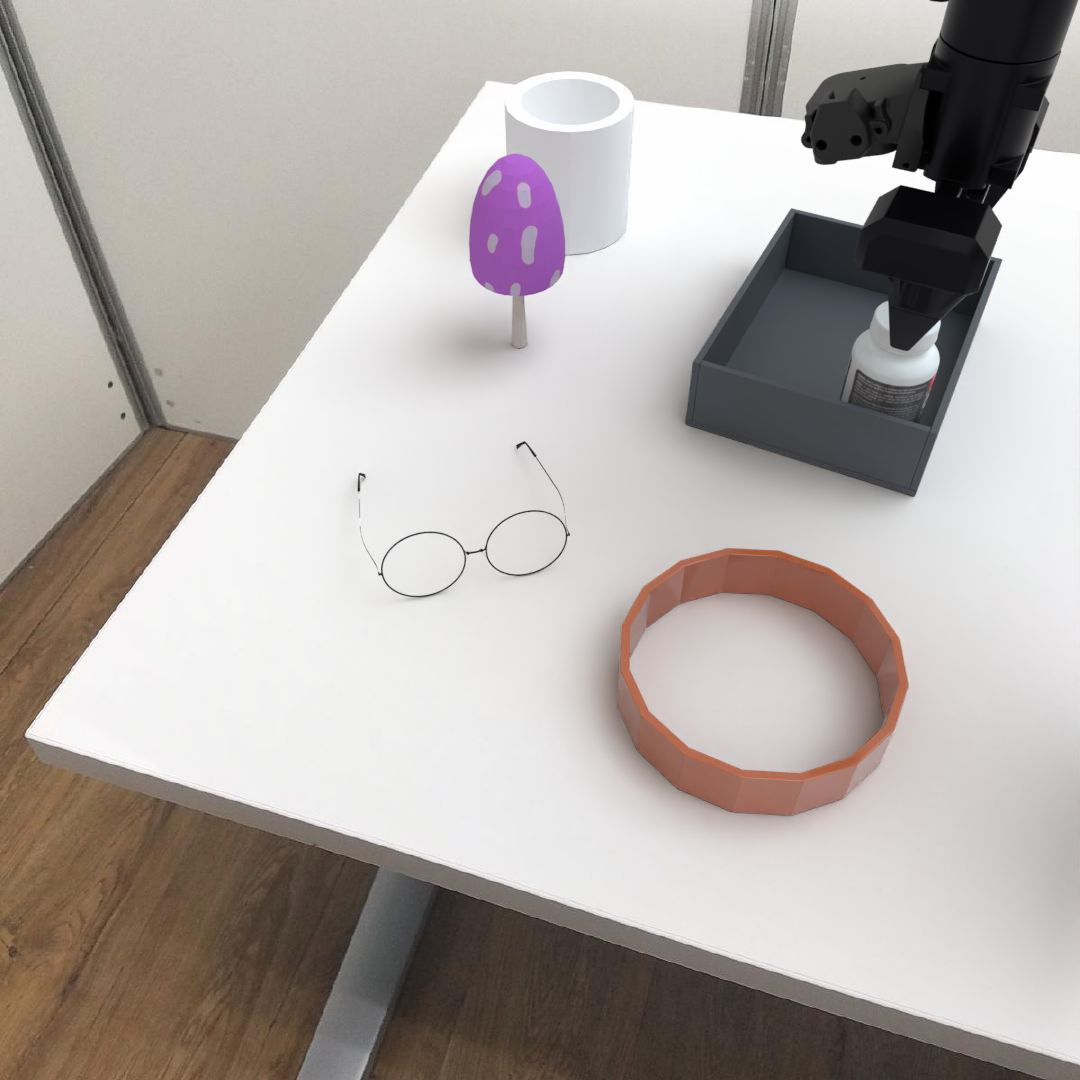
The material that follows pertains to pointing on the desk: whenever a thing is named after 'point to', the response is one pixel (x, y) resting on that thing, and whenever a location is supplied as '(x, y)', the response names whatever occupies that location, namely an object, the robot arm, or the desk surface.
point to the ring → (792, 584)
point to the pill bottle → (890, 371)
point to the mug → (577, 149)
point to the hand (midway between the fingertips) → (918, 304)
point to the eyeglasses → (461, 545)
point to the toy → (516, 235)
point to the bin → (819, 359)
